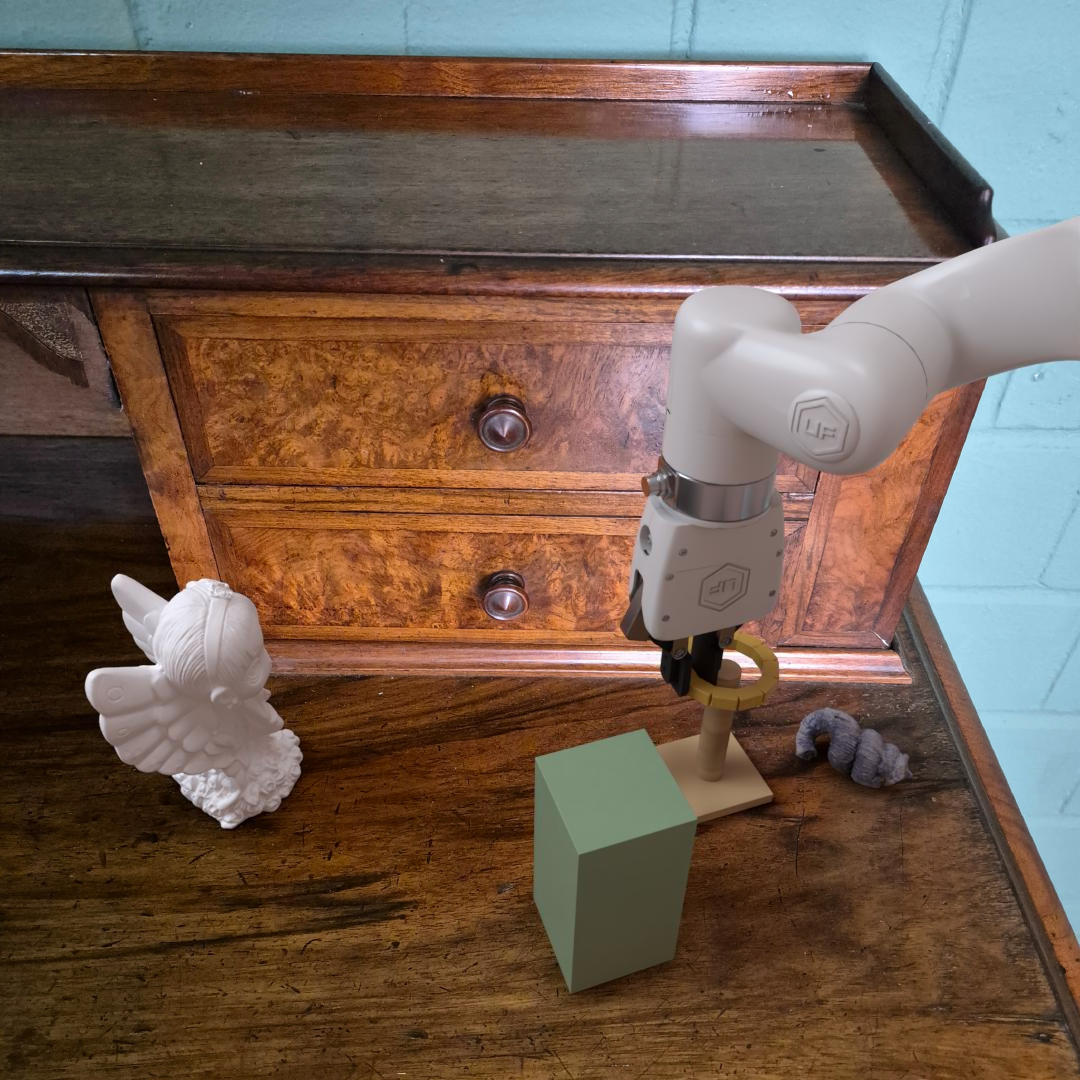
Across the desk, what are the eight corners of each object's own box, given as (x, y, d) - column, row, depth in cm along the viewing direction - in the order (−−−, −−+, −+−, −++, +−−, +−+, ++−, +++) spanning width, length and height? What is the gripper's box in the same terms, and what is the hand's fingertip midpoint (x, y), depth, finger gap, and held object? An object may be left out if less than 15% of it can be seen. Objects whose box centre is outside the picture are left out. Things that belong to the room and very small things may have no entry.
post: (771, 801, 80) (798, 691, 72) (686, 827, 78) (704, 716, 70) (726, 733, 86) (746, 625, 78) (645, 756, 84) (658, 647, 76)
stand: (674, 959, 69) (698, 819, 59) (570, 994, 66) (578, 854, 57) (629, 868, 75) (644, 727, 65) (533, 897, 72) (534, 757, 63)
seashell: (789, 755, 86) (900, 805, 82) (785, 748, 81) (903, 801, 77) (812, 701, 87) (922, 748, 83) (809, 691, 82) (927, 740, 78)
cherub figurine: (299, 836, 77) (258, 654, 65) (138, 855, 75) (66, 673, 63) (305, 717, 87) (271, 541, 75) (164, 732, 85) (107, 555, 74)
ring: (796, 696, 72) (799, 684, 72) (702, 721, 70) (704, 709, 69) (745, 630, 78) (746, 619, 78) (656, 651, 76) (658, 640, 76)
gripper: (630, 532, 57) (613, 740, 68) (851, 487, 62) (803, 689, 73) (584, 470, 63) (576, 671, 74) (789, 433, 67) (753, 628, 78)
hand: (688, 679), depth 73 cm, fingers closed on ring, 1 cm apart
